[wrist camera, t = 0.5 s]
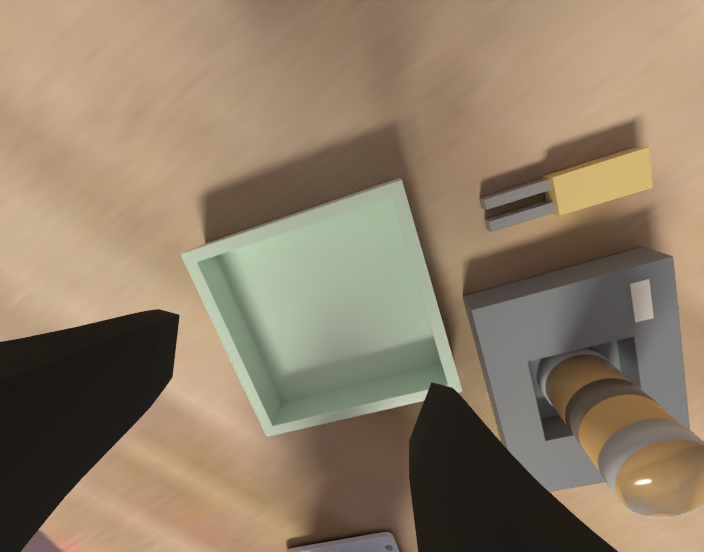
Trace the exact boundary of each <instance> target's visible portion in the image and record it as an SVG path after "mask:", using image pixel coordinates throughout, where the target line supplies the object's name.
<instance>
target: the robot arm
mask: <svg viewBox="0 0 704 552" xmlns="http://www.w3.org/2000/svg"><path fill="white" fill-rule="evenodd" d="M178 324H179V315H178V314H174V313H171V312H167V311H163V310H159V309H157V310H149V311H144V312H139V313H134V314H130V315H125V316H121V317H117V318H113V319H108V320H104V321H100V322H96V323H91V324H87V325H83V326H79V327H74V328H69V329H65V330H60V331H55V332H50V333H45V334H40V335H36V336H31V337H26V338H21V339H15V340H9V341H3V342H0V552H21V551H22V549H23V548H24V547H25V545H26V544H27V543H28V541H29V540H30V539H31V538H32V537H33V535H34V534H35V533H36V532H37V531H38V529H39V528H40V527H41V526H42V524H43V523H44V522H45V521H46V520H47V518H48V517H49V516H50V515H51V513H52V512H53V511H54V510H55V508H56V507H57V506H58V505H59V504H60V502H61V501H62V500H63V499H64V498H65V496H66V495H67V494H68V493H69V492H70V491H71V490H72V489H73V488H74V486H75V485H76V484H77V483H78V482H79V481H80V480H81V479H82V478H83V477H84V476H85V475H86V474H87V472H88V471H89V470H90V469H91V468H92V467H93V466H94V465H95V464H96V463H97V462H98V461H99V460H100V459H101V458H102V457H103V456H104V455H105V454H106V453H107V452H108V451H109V450H110V449H111V448H112V447H113V446H114V445H115V444H116V443H117V442H118V441H119V440H120V438H121V437H122V436H123V435H124V434H125V433H126V432H127V431H128V430H129V429H130V428H131V427H132V426H133V425H134V424H135V423H136V422H137V421H138V420H139V419H140V418H141V417H142V416H143V414H144V413H145V412H146V411H147V410H148V409H149V408H150V407H151V406H152V404H153V403H154V402H155V400H156V399H157V398H158V396H159V395H160V394H161V392H162V391H163V390H164V388H165V387H166V385H167V384H168V383H169V381H170V380H171V378H172V376H173V367H174V359H175V350H176V341H177V333H178ZM409 478H410V487H411V496H412V505H413V513H414V521H415V529H416V537H417V545H418V552H618V551H617V550H615V549H614V548H613V547H612V546H611V545H609V544H608V543H607V542H606V541H604V540H603V539H602V538H601V537H599V536H598V535H597V534H596V533H595V532H593V531H592V530H591V529H590V528H589V527H587V526H586V525H585V524H584V523H583V522H582V521H580V520H579V519H578V518H577V517H576V516H575V515H574V514H573V513H571V512H570V511H569V510H568V509H567V508H566V507H565V506H564V505H563V504H562V503H561V502H559V501H558V500H557V499H556V498H555V497H554V496H553V495H552V494H551V493H550V492H549V491H547V490H546V489H545V488H544V487H543V486H542V485H541V484H540V483H539V482H538V481H537V480H536V479H535V478H534V477H533V476H532V475H531V474H530V473H529V472H528V471H527V470H526V469H525V467H524V466H523V465H522V464H521V463H520V462H519V461H518V460H517V459H516V458H515V457H514V456H513V455H512V454H511V453H510V452H509V451H508V450H507V448H506V447H505V446H504V445H503V444H502V443H501V442H500V441H499V440H498V438H497V437H496V436H495V435H494V434H493V433H492V432H491V430H490V429H489V428H488V427H487V426H486V425H485V424H484V422H483V421H482V420H481V419H480V418H479V417H478V415H477V414H476V413H475V412H474V411H473V409H472V408H471V407H470V406H469V405H468V404H467V402H466V401H465V400H464V399H463V398H462V397H461V396H460V395H459V393H458V392H457V391H456V390H455V389H454V388H452V387H448V386H444V385H441V384H437V383H433V382H431V384H430V387H429V390H428V392H427V395H426V398H425V400H424V403H423V406H422V408H421V411H420V414H419V416H418V419H417V422H416V425H415V427H414V430H413V433H412V435H411V438H410V442H409ZM286 552H400V551H399V549H398V546H397V544H396V541H395V539H394V536H393V535H392V534H391V533H389V532H381V533H376V534H370V535H364V536H358V537H352V538H347V539H341V540H335V541H329V542H324V543H318V544H312V545H306V546H301V547H295V548H290V549H287V550H286Z"/></svg>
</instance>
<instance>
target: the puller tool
mask: <svg viewBox="0 0 704 552" xmlns="http://www.w3.org/2000/svg"><path fill="white" fill-rule="evenodd" d="M650 188H653V183H652V174H651V165H650V155H649V147H643V148H630V149H627V150H624V151H621V152H617V153H614V154H611V155H608V156H605V157H602V158H599V159H595V160H592V161H589V162H586V163H583V164H580V165H576V166H573V167H570V168H567V169H564V170H561V171H558V172H554V173H551V174H548V175H545V176H542V179H539V180H536V181H533V182H530V183H527V184H523V185H520V186H517V187H514V188H511V189H508V190H504V191H501V192H498V193H495V194H492V195H489V196H485V197H482V198H480V202H481V206H482V208H483V209H485V210H488V209H491V208H494V207H497V206H500V205H504V204H507V203H510V202H513V201H517V200H520V199H523V198H526V197H529V196H533V195H536V194H539V193H542V192H545V198H546V201H543V202H540V203H537V204H533V205H530V206H527V207H524V208H520V209H517V210H514V211H511V212H507V213H504V214H501V215H497V216H494V217H491V218H488V219H485V223H486V227H487V229H488V230H490V231H491V232H492V231H495V230H498V229H502V228H505V227H508V226H512V225H515V224H518V223H522V222H525V221H528V220H532V219H535V218H538V217H542V216H545V215H548V214H556V215H563V214H566V213H570V212H573V211H577V210H580V209H583V208H587V207H590V206H593V205H597V204H600V203H603V202H607V201H610V200H613V199H617V198H620V197H624V196H627V195H630V194H634V193H637V192H640V191H644V190H647V189H650Z"/></svg>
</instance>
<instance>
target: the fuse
mask: <svg viewBox="0 0 704 552" xmlns="http://www.w3.org/2000/svg"><path fill="white" fill-rule="evenodd" d="M536 379H537V384H538V387H539V389H540V390H541V392H542V393H543V394H544V396H545V397H546V399H547V400H548V401H549V403H550V404H551V405H552V406H553V407H554V408H555V410H556V411H557V412H558V414H559V415H560V417H561V418H562V419H563V421H564V422H565V424H566V425H567V427H568V429H569V430H570V431H571V433H572V434H573V436H574V437H575V438H576V440H577V441H578V443H579V444H580V445H581V447H582V448H583V450H584V451H585V452H586V453H587V454H588V456H589V457H590V459H591V460H592V462H593V463H594V464H595V466H596V467H597V469H598V470H599V471H600V474H601V476H602V478H603V479H604V480H605V482H606V483H607V485H608V486H609V488H610V489H611V490H612V492H613V493H614V495H615V496H616V497H617V499H618V500H619V502H620V503H621V504H622V505H623V506H624V507H625V508H627V509H628V510H630V511H631V512H633V513H635V514H638V515H641V516H644V517H650V518H671V517H676V516H681V515H684V514H687V513H689V512H692V511H694V510H696V509H698V508H700V507H701V506H703V505H704V441H702V440H701V439H700V438H699V437H698V436H697V435H695V434H694V433H693V432H692V431H691V430H689V429H688V428H687V427H685V426H684V425H682V424H680V423H679V422H678V421H677V420H676V419H675V418H674V417H672V416H671V415H670V414H669V413H668V412H667V411H665V410H664V409H663V408H662V407H661V406H660V405H659V404H658V403H657V402H656V401H655V400H653V399H652V398H651V397H650V396H649V395H648V394H646V393H645V392H644V391H643V390H642V389H641V388H639V387H638V386H637V385H635V384H634V383H633V382H632V381H631V380H629V379H628V378H627V377H626V376H625V375H624V374H623V373H621V372H620V371H619V370H618V369H617V368H616V367H615V366H614V365H613V364H612V363H611V362H610V361H609V360H608V359H607V358H605V357H604V356H603V355H602V354H601V353H600V352H598V351H597V350H596V349H594V348H592V347H587V348H583V349H579V350H575V351H570V352H566V353H562V354H558V355H554V356H549V357H545V358H544V359H543V360H542V362H541V363H540V365H539V367H538V370H537V376H536Z"/></svg>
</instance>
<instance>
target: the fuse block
mask: <svg viewBox="0 0 704 552" xmlns="http://www.w3.org/2000/svg"><path fill="white" fill-rule="evenodd" d="M463 299H464V303H465V307H466V311H467V314H468V318H469V322H470V326H471V329H472V333H473V337H474V341H475V344H476V348H477V352H478V356H479V360H480V363H481V367H482V371H483V375H484V378H485V382H486V386H487V390H488V393H489V397H490V401H491V405H492V409H493V412H494V416H495V420H496V424H497V427H498V431H499V435H500V439H501V442H502V444H503V445H504V446H505V447H506V448H507V450H508V451H509V452H510V453H511V454H512V455H513V456H514V457H515V458H516V459H517V460H518V461H519V462H520V463H521V464H522V465H523V466H524V467H525V469H526V470H527V471H528V472H529V473H530V474H531V475H532V476H533V477H534V478H535V479H536V480H537V481H538V482H539V483H540V484H541V485H542V486H543V487H544V488H545V489H546V490H547V491H549V492H552V491H557V490H563V489H569V488H574V487H580V486H585V485H591V484H597V483H602V482H605V480H604V479H603V478H602V476H601V474H600V471H599V470H598V469H597V467H596V466H595V464H594V463H593V462H592V460H591V459H590V457H589V456H588V454H587V453H586V452H585V451H584V450H583V448H582V447H581V445H580V444H579V443H578V441H577V440H576V438H575V437H574V436H573V434H572V433H571V431H570V430H569V429H568V427H567V425H566V424H565V422H564V421H563V419H562V418H561V417H560V415H559V414H558V412H557V411H556V410H555V408H554V407H553V406H552V405H551V404H550V403H549V401H548V400H547V399H546V397H545V396H544V394H543V393H542V392H541V390H540V389H539V387H538V384H537V379H536V376H537V370H538V367H539V365H540V363H541V362H542V360H543V359H544V358H545V357H549V356H554V355H558V354H562V353H566V352H570V351H575V350H579V349H583V348H587V347H592V348H594V349H596V350H597V351H598V352H600V353H601V354H602V355H603V356H604V357H605V358H607V359H608V360H609V361H610V362H611V363H612V364H613V365H614V366H615V367H616V368H617V369H618V370H619V371H620V372H621V373H623V374H624V375H625V376H626V377H627V378H628V379H629V380H631V381H632V382H633V383H634V384H635V385H637V386H638V387H639V388H641V389H642V390H643V391H644V392H645V393H646V394H648V395H649V396H650V397H651V398H652V399H653V400H655V401H656V402H657V403H658V404H659V405H660V406H661V407H662V408H663V409H664V410H665V411H667V412H668V413H669V414H670V415H671V416H672V417H674V418H675V419H676V420H677V421H678V422H679V423H680V424H682V425H684V426H685V427H687V428H688V429H689V430H690V425H689V415H688V404H687V394H686V384H685V374H684V363H683V353H682V343H681V333H680V322H679V312H678V302H677V291H676V281H675V271H674V261H673V256H670V255H666V254H663V253H660V252H657V251H654V250H650V249H647V248H644V247H640V248H636V249H633V250H629V251H626V252H622V253H618V254H615V255H611V256H607V257H604V258H600V259H596V260H593V261H589V262H585V263H582V264H578V265H575V266H571V267H567V268H564V269H560V270H556V271H553V272H549V273H545V274H542V275H538V276H534V277H531V278H527V279H524V280H520V281H516V282H513V283H509V284H505V285H502V286H498V287H494V288H491V289H487V290H483V291H480V292H476V293H473V294H469V295H465V296H463Z"/></svg>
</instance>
